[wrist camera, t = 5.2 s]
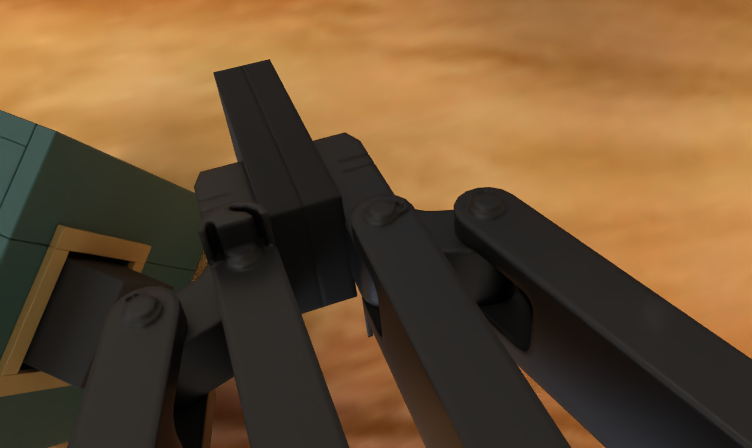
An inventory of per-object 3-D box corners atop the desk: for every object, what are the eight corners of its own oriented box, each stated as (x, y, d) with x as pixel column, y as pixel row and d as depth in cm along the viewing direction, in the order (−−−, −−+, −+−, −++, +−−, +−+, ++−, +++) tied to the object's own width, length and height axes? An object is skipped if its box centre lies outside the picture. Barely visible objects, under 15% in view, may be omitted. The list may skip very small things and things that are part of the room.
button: (175, 287, 27) (124, 281, 23) (137, 379, 27) (79, 389, 23) (74, 245, 28) (8, 233, 24) (36, 333, 28) (-36, 336, 24)
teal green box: (227, 207, 35) (64, 134, 21) (139, 424, 34) (-92, 496, 20) (110, 162, 36) (-114, 67, 22) (22, 370, 35) (-268, 402, 22)
